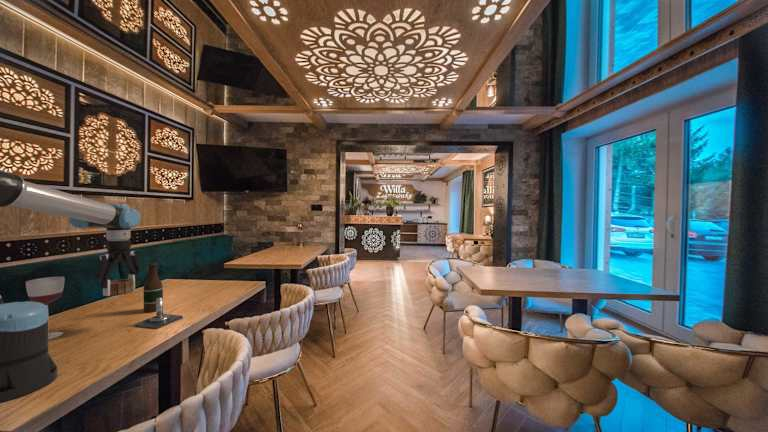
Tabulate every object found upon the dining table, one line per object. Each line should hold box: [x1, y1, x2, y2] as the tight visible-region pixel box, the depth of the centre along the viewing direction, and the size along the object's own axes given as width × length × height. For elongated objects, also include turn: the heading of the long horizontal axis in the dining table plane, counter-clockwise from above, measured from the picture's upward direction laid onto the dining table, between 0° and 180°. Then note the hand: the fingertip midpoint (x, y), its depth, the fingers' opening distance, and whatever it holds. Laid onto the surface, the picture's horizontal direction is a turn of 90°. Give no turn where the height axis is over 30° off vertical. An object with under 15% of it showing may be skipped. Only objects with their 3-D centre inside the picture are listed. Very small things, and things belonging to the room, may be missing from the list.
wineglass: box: [25, 276, 66, 340], centre depth 113 cm, size 9×10×23 cm
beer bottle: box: [143, 262, 164, 314], centre depth 143 cm, size 8×8×24 cm
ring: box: [109, 278, 135, 297], centre depth 121 cm, size 9×9×5 cm
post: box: [134, 297, 184, 330], centre depth 128 cm, size 12×12×11 cm
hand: (119, 292), depth 121 cm, fingers closed on ring, 9 cm apart
